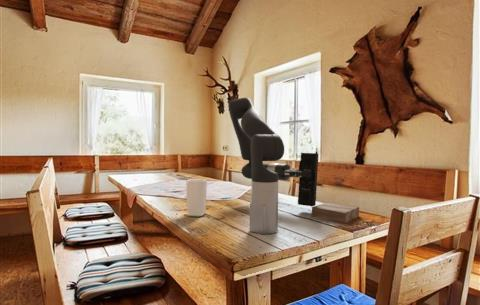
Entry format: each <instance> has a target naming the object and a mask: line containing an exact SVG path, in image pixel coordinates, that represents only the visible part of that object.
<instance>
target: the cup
mask: <svg viewBox="0 0 480 305" xmlns="http://www.w3.org/2000/svg"><path fill="white" fill-rule="evenodd" d="M185 182H186V186H185V187H186V188H185V189H186V190H185V191H186V206H187V207H186V208H187V214H188V216H189V217H193V218H194V217H197V218H199V217H203V216H204V215H205V214H206V207H207V206H206V205H207V195H208V194H207V191H208V189H207V188H208V180H207V179H206V178H189V179H187V180H186V181H185Z"/></svg>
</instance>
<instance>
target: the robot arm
mask: <svg viewBox="0 0 480 305" xmlns="http://www.w3.org/2000/svg"><path fill="white" fill-rule="evenodd" d="M227 105H228V106H227V107H228V112H229V115H230V116H229V117H230V119H231V124H232V126H233V129H234V132H235V135H236V138H237V140H238V145H239V150H240V155H241V158H242V160H243V161H248V163H246V164H244V165H243V167H242V168H241V174H242V176H243V177H244V178H246V179H247V180H248V179H249V180H251V202H250V203H249V232H253V233H256V234H260V235H267V234H269V235H270V234H274V233H277V232H278V231H279V181H288V180H289V179H290V178H291V179H292V178H300V177H311V172H302V171H299V168H295V167H293V168H292V167H291V166H290V165H289V164H287V163H275V162H276V161H279V160H281V159H282V158H283V156H284V154H285V144H284V141H283V139H282V138H281V136H280V135H279V134H278V133H277V132H275V130H273V129H272V128H271V126H269V124H267V122H266V121H265V119H264V118H263V117H262V116H261V114H259V112H258V111H257V110H256V108H255V106H254V103H253V101H251V99H250V98H249V97H241V98H236V99H233V100H229V101H228V104H227ZM240 119H241V120H240ZM239 120H240V122H239ZM264 162H269V163H264ZM270 162H274V163H270Z"/></svg>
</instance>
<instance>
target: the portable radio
mask: <svg viewBox="0 0 480 305" xmlns="http://www.w3.org/2000/svg"><path fill="white" fill-rule="evenodd" d="M315 149H316V150H315V153H313V152H300V161H299V164H298V165H299V166H298V169H299V170H298V171H302V172H311V177H298V178H299V181H298V196H297V197H298V198H297V205H299V206H306V207H307V206H308V207H314V206H317V205H316V204H317V203H316V202H317V188H318V187H317V186H318V168H319V153H318V148H315Z"/></svg>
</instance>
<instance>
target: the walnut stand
mask: <svg viewBox="0 0 480 305" xmlns="http://www.w3.org/2000/svg"><path fill="white" fill-rule="evenodd" d="M311 217H312V218H316V219H321V220H326V221H332V222H336V223H341V224H347V223H348V222H350V221H353V220H355V219H357V218H358V217H360V206H355V205H349V204H342V203H336V202H329V201H327V202H324V203H321V204H318V205H315V206H311Z"/></svg>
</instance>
